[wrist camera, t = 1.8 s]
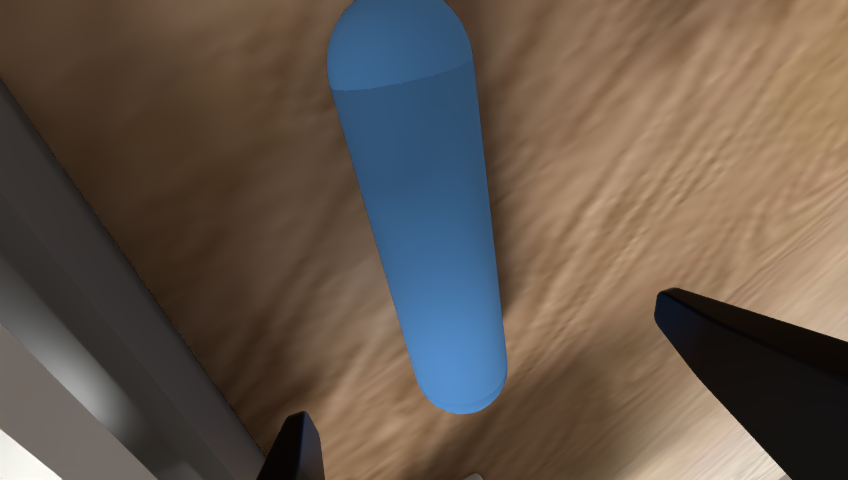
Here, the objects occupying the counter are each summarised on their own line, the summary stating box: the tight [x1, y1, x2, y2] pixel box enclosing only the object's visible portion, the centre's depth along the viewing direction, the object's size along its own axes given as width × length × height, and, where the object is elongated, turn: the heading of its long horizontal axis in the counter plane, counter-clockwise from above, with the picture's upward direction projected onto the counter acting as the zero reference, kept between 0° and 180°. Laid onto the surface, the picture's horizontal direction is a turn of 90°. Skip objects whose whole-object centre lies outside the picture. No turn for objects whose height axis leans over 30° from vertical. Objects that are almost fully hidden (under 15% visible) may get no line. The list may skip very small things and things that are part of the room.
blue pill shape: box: [327, 0, 507, 414], centre depth 14 cm, size 16×4×4 cm, turn 11°
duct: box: [0, 80, 266, 480], centre depth 12 cm, size 22×8×5 cm, turn 11°
